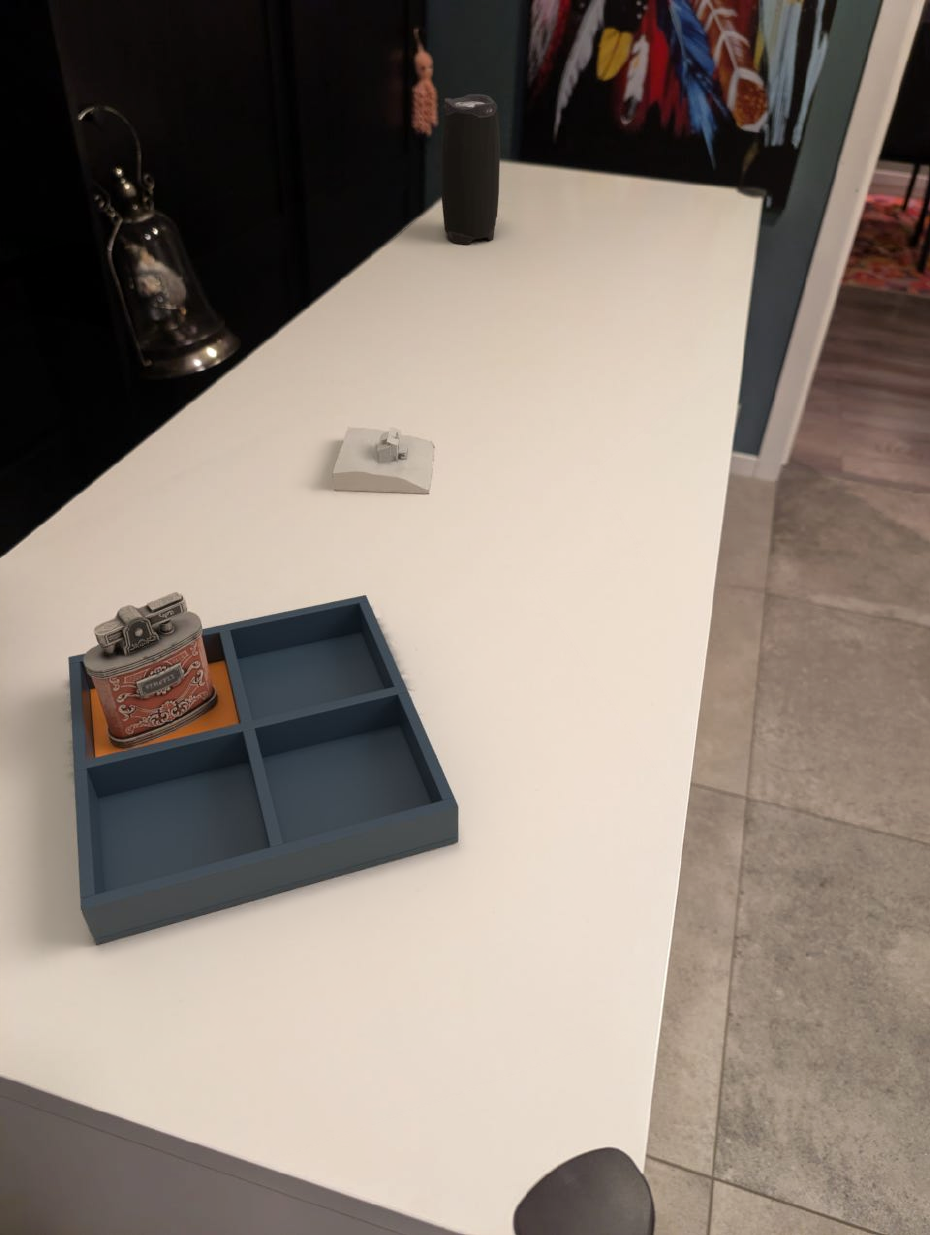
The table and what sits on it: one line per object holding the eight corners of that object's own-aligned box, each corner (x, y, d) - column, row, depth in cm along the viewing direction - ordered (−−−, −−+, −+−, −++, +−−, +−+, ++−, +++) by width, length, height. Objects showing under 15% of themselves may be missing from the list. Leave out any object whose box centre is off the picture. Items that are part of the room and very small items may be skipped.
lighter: (121, 757, 66) (84, 649, 60) (101, 729, 68) (64, 621, 62) (226, 706, 70) (203, 599, 64) (205, 681, 72) (180, 575, 66)
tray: (80, 692, 72) (68, 656, 70) (368, 629, 78) (366, 594, 76) (95, 945, 56) (80, 910, 54) (458, 842, 62) (458, 806, 59)
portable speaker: (433, 243, 150) (431, 103, 137) (455, 225, 156) (455, 90, 144) (485, 249, 147) (487, 108, 135) (505, 231, 154) (509, 95, 141)
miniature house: (450, 491, 94) (450, 457, 92) (336, 503, 92) (333, 469, 90) (429, 432, 103) (429, 400, 101) (325, 442, 101) (321, 410, 99)
